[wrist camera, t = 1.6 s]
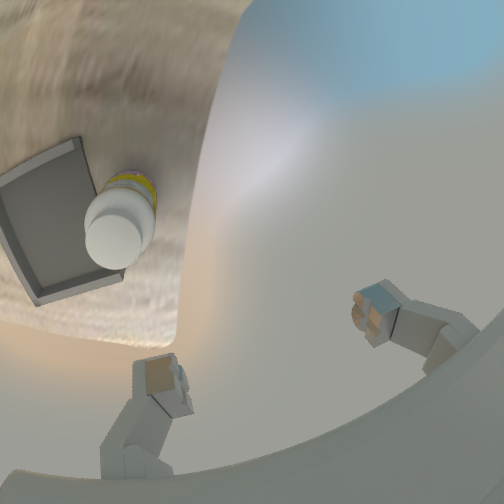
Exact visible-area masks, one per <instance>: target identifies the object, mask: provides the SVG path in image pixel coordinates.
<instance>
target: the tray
mask: <svg viewBox="0 0 504 504" xmlns="http://www.w3.org/2000/svg"><path fill="white" fill-rule="evenodd" d="M96 196H97V194H96V191H95V188H94V184H93V181H92V178H91V175H90V171H89V168H88V165H87V161H86V157H85V154H84V150H83V146H82V142H81V138H80V137H77V138H73V139H71V140H68V141H66V142H64V143H62V144H60V145H57V146H55V147H53V148H51V149H49V150H47V151H45V152H43V153H41V154H39V155H37V156H35V157H33V158H32V159H30V160H28V161H26V162H24V163H22V164H21V165H19V166H17V167H15V168H14V169H12V170H10V171H9V172H7V173H5V174H4V175H2V176H0V242H1V244H2V246H3V248H4V250H5V253H6V255H7V257H8V259H9V261H10V263H11V265H12V267H13V269H14V270H15V272H16V274H17V276H18V278H19V280H20V281H21V283H22V285H23V287H24V288H25V290H26V292H27V294H28V295H29V297H30V299H31V300H32V302H33V303H34V305H35V307H38V306H41V305H44V304H48V303H51V302H54V301H58V300H61V299H64V298H68V297H71V296H74V295H78V294H81V293H84V292H88V291H91V290H94V289H98V288H101V287H105V286H108V285H111V284H115V283H118V282H121V281H123V278H124V273H125V268H123V269H118V270H112V269H107V268H104V267H102V266H100V265H98V264H97V263H96V262H95V261H94V260H93V259H92V258H91V257H90V255H89V253H88V251H87V249H86V244H85V237H86V233H85V228H84V221H85V215H86V212H87V210H88V207H89V206H90V204H91V203H92V201H93V200H94V199H95V198H96Z"/></svg>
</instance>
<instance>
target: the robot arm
mask: <svg viewBox="0 0 504 504" xmlns="http://www.w3.org/2000/svg"><path fill="white" fill-rule="evenodd" d="M353 301H354V302H355V305H354V306H353V308H352V318H353V321H354V323H355V325H356V327H357V328H358V329H359V330H361V331H364V332H365V338H366V339H367V340H368V342H369V343H370V344H371V345H372V346H373V348H375V347H377V346H379V345H381V344H383V343H385V342H387V341H389V340H391V341H392V342H394V343H396V344H398V345H400V346H403V347H405V348H407V349H409V350H411V351H414V352H416V353H418V354H420V355H422V356H424V357H426V358H427V359H426V361H425V363H424V365H423V369H422V370H423V371H424V372H425V373H426V375H427V376H426V377H424V378H423V379H421V380H420V381H418V382H417V383H415V384H414V385H413V386H411V387H409V388H408V389H406V390H405V391H403V392H402V393H400V394H398V395H397V396H395V397H394V398H392V399H390V400H389V401H387V402H385V403H383V404H382V405H380V406H378V407H377V408H375V409H373V410H371V411H369V412H368V413H366V414H364V415H362V416H360V417H358V418H356V419H354V420H352V421H350V422H348V423H346V424H344V425H342V426H340V427H338V428H336V429H333V430H331V431H329V432H327V433H324V434H322V435H320V436H317V437H315V438H313V439H310V440H308V441H305V442H303V443H300V444H297V445H295V446H292V447H289V448H287V449H284V450H281V451H278V452H275V453H272V454H269V455H265V456H262V457H259V458H255V459H252V460H248V461H245V462H241V463H237V464H233V465H229V466H224V467H220V468H215V469H211V470H205V471H200V472H194V473H188V474H181V475H174V474H173V470H172V467H171V466H169V465H168V464H166V463H165V462H163V461H161V460H160V459H158V457H159V454H160V451H161V449H162V446H163V444H164V441H165V439H166V436H167V433H168V431H169V428H170V426H171V423H172V419H173V418H178V417H182V416H186V415H190V414H194V412H193V406H192V401H191V398H190V396H189V395H188V393H187V392H188V390H189V385H188V381H187V377H186V374H185V372H184V370H183V368H182V366H180V365H178V362H177V358H176V356H175V355H174V353H169V354H164V355H160V356H155V357H151V358H146V359H142V360H136V361H134V363H133V370H132V372H133V373H132V385H133V386H132V397H133V398H132V399H129V400H128V401H127V403H126V405H125V406H124V408H123V410H122V411H121V413H120V414H119V416H118V418H117V419H116V421H115V423H114V424H113V426H112V428H111V429H110V431H109V432H108V434H107V436H106V438H105V439H104V441H103V443H102V444H101V446H100V461H101V462H100V464H101V479H85V478H72V477H62V476H54V475H47V474H40V473H35V472H30V471H25V470H20V469H16V470H13V471H12V472H11V473H10V474H9V476H8V477H7V479H6V480H5V481H4V483H3V484H2V486H1V487H0V504H504V308H503V309H502V311H501V312H500V313H499V314H498V315H497V316H496V317H495V318H494V319H493V320H492V321H491V322H490V323H489V324H488V325H487V326H486V327H485V328H484V329H483V330H482V331H480V330H479V329H478V328H477V327H475V326H474V325H473V324H472V323H471V322H470V321H469V320H468V319H467V318H466V317H464V315H463V314H461V313H459V312H455V311H452V310H448V309H445V308H441V307H438V306H434V305H431V304H427V303H424V302H420V301H417V300H413V301H411V300H410V299H409V298H408V297H407V296H406V295H404V294H403V293H402V292H401V291H400V290H399V289H398V288H397V287H396V286H395V285H394V284H392V283H391V282H390V281H389V280H386V279H385V280H383V281H380V282H378V283H376V284H373V285H371V286H368V287H366V288H364V289H362V290H359V291H357V292H355V294H354V296H353Z"/></svg>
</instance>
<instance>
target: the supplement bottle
mask: <svg viewBox="0 0 504 504" xmlns="http://www.w3.org/2000/svg"><path fill="white" fill-rule="evenodd" d="M156 205H157V193H156V189H155V186H154V184H153V183H152V181H151V180H150V179H149V178H148V177H147V176H146V175H144V174H142V173H140V172H137V171H123V172H120V173H118V174H116V175H115V176H113V177H112V178H111V179H110V180H109V181H108V183H107V184H106V185H105V186H104V188H103V189H102V190H101V191H100V193H99V194H98V195H97V196H96V198H95V199H94V200H93V201H92V203H91V204H90V206H89V207H88V210H87V212H86V215H85V221H84V228H85V233H86V237H85V244H86V249H87V251H88V253H89V255H90V257H91V258H92V259H93V260H94V261H95V262H96V263H97V264H98V265H100V266H102V267H104V268H107V269H112V270H118V269H123V268H126V267H128V266H130V265H131V264H133V263H134V262H135V261H136V259H137V258H138V256H139V254H141V253H142V252H143V251H144V250H145V249H146V248H147V247H148V245H149V244H150V242H151V240H152V238H153V235H154V231H155V219H156Z"/></svg>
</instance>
